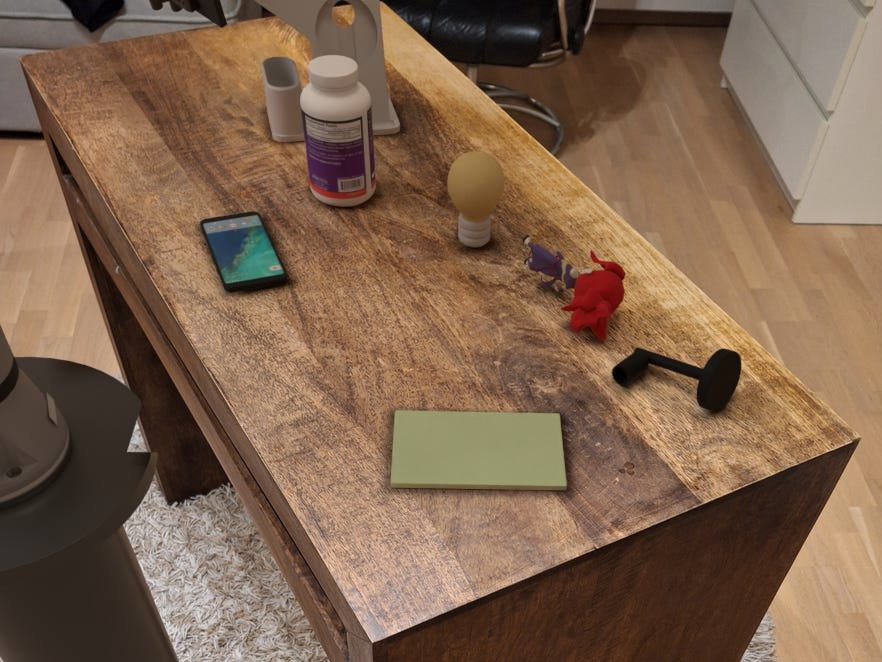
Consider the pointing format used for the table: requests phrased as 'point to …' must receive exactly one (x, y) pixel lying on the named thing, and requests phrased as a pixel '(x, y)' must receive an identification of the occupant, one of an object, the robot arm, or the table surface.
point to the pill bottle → (338, 132)
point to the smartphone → (243, 252)
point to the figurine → (582, 287)
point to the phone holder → (310, 13)
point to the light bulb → (475, 194)
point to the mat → (477, 450)
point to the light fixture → (689, 374)
